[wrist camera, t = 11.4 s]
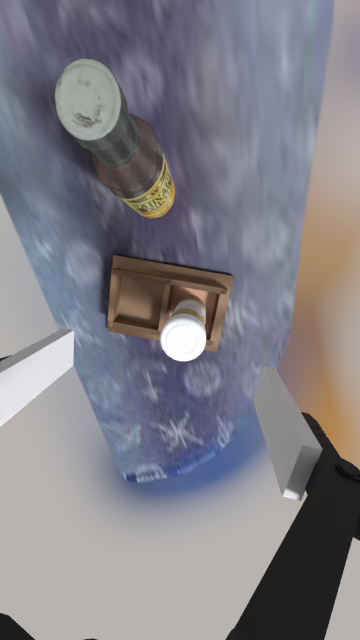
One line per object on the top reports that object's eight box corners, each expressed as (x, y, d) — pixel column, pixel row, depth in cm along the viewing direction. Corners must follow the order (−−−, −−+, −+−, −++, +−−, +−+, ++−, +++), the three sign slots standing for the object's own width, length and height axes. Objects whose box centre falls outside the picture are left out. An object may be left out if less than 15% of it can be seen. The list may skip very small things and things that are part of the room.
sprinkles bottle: (198, 328, 36) (193, 370, 23) (171, 316, 36) (151, 350, 23) (211, 302, 35) (214, 330, 22) (183, 289, 34) (169, 310, 22)
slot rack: (115, 255, 35) (107, 255, 32) (233, 275, 34) (235, 277, 31) (109, 329, 38) (101, 335, 36) (216, 350, 37) (217, 358, 35)
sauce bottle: (153, 229, 34) (84, 196, 15) (123, 194, 33) (8, 110, 14) (187, 195, 32) (159, 106, 13) (157, 157, 31) (78, 3, 12)
